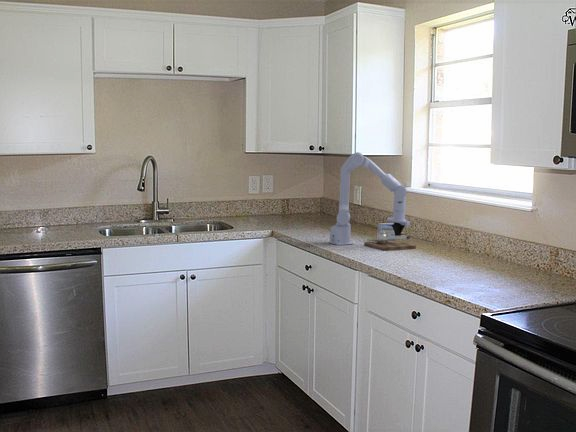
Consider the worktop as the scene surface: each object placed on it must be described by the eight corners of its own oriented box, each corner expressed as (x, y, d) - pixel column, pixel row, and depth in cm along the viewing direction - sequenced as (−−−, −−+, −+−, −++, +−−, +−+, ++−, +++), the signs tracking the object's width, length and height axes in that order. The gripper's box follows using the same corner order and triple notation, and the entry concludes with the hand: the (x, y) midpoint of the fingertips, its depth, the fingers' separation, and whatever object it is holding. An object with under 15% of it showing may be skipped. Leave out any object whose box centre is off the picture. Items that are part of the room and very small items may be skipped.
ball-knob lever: (378, 244, 309) (378, 232, 308) (375, 242, 314) (376, 230, 313) (410, 244, 311) (411, 232, 310) (407, 242, 316) (408, 231, 315)
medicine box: (380, 241, 327) (381, 224, 326) (376, 240, 331) (377, 223, 330) (394, 241, 329) (395, 224, 328) (391, 239, 333) (392, 222, 332)
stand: (384, 250, 300) (385, 247, 300) (364, 245, 314) (364, 241, 314) (415, 248, 309) (415, 245, 309) (394, 243, 323) (394, 239, 323)
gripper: (415, 212, 308) (414, 241, 310) (396, 208, 321) (394, 236, 322) (403, 212, 305) (402, 241, 306) (384, 209, 317) (383, 237, 319)
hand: (397, 239), depth 314 cm, fingers closed, pressing on ball-knob lever
